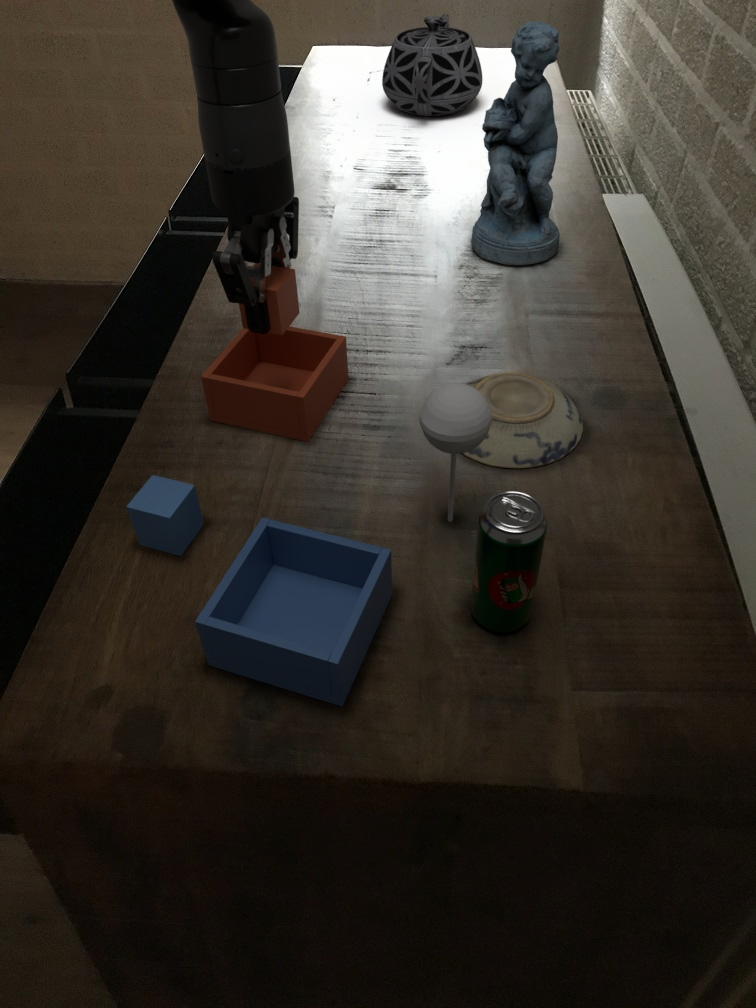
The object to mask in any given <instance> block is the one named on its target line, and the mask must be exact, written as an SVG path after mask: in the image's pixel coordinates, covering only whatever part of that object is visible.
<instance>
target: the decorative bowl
mask: <svg viewBox="0 0 756 1008" xmlns="http://www.w3.org/2000/svg"><path fill="white" fill-rule="evenodd" d="M465 384H466V385H469V386H471V387H473V388H475V389H477V390H478V391H479V392H480V393H481V394H482V395H483V396H484V397H485V399H486V401H487V402H488V404H489V405H490V408H491V410H492V424H491V427H490V430H489V432H488V434H487V436H486V438H485V439H484V440H483V442H482V443H481V444H480V445H479V446H477V447H476V448H474V449H473V450H471V451H469V452H466V453H462V454H463V455H464V456H465V457H467V458H469V459H470V460H472V461H475V462H477V463H481V464H483V465H486V466H489V467H493V468H495V467H496V468H501V469H502V468H503V469H518V470H519V469H522V470H523V469H530V468H535V467H541V466H546V465H549V464H551V463H553V462H554V463H555V462H557V461H559V460H561V459H563V458H564V457H566V456H567V455H568V454H569V453H572V451H573V450H575V449H576V447H577V445H578V444H579V442H580V441H581V438H582V434H584V433H583V432H584V426H583V424H584V423H583V420H582V416H581V414H580V412H579V410H578V408H577V406H576V405H575V403H574V402H573V400H572V399H571V398H570V396H568V395H567V394H566V393H565V392H564V391H562V390H561V389H560V388H558V387H557V386H555V385H554V384H552V383H550V382H548V381H546V380H545V379H544V380H543V379H541V378H538V377H534V376H533V375H529V374H526V373H521V372H520V373H519V372H508V371H507V372H499V373H498V372H497V373H494V374H490V375H486V376H482V377H479V378H476V379H474V380H471V381H469V382H467V383H465Z"/></svg>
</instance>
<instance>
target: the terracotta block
mask: <svg viewBox="0 0 756 1008" xmlns="http://www.w3.org/2000/svg"><path fill="white" fill-rule="evenodd" d="M252 266H253V267H260V263H259V264H257V263H253V264H252ZM250 279H251V282H252V284H253V287H254V288H256V279H255V278H253V277H250ZM297 285H298V284H297V275H296V269H295V268H291V269H290V268H284V267H278V266H271V274H270V276H268V277H267V278H266V298H265V299H267V305H268V312H269V320H270V327H271V329H270V331H269V332H268V333H272V334H277V335H283V333H284V332H285V331H286V330H287V328H288V327H289V326H291V325H292V324H293V322H294V321H295V320H296V318H297V317H298V316H299V315H300V304H299V295H298V293H299V292H298V286H297ZM236 289H237V288H236ZM238 307H239V313H240V319H241V324H242V325H241V326H242V329H243V328H245V329H248V326H247V320H246V314H245V308H244V304H239V303H238Z"/></svg>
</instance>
